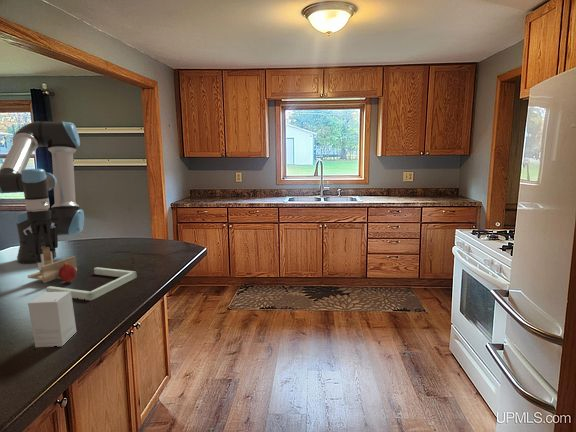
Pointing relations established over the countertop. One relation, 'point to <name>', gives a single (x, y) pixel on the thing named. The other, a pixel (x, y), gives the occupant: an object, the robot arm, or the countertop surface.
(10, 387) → the countertop surface
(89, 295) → the sage frame
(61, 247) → the countertop surface
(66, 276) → the red round fruit
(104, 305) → the countertop surface
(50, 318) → the supplement box
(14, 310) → the countertop surface
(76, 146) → the robot arm
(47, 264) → the wooden scraper
